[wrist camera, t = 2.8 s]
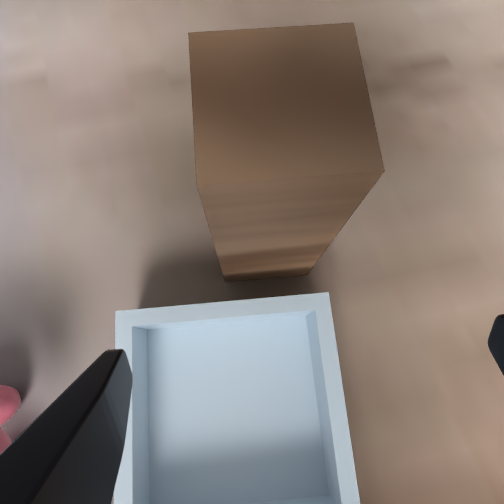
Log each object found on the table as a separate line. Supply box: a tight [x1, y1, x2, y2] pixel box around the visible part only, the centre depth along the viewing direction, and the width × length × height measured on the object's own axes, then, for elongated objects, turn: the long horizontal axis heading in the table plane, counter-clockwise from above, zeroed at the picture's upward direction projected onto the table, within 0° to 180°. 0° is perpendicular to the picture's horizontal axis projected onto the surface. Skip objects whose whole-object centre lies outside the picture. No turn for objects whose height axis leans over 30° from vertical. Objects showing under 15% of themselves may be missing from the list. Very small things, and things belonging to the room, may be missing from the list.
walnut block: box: [188, 23, 384, 282], centre depth 17 cm, size 5×5×13 cm
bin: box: [114, 292, 360, 504], centre depth 19 cm, size 11×11×4 cm
